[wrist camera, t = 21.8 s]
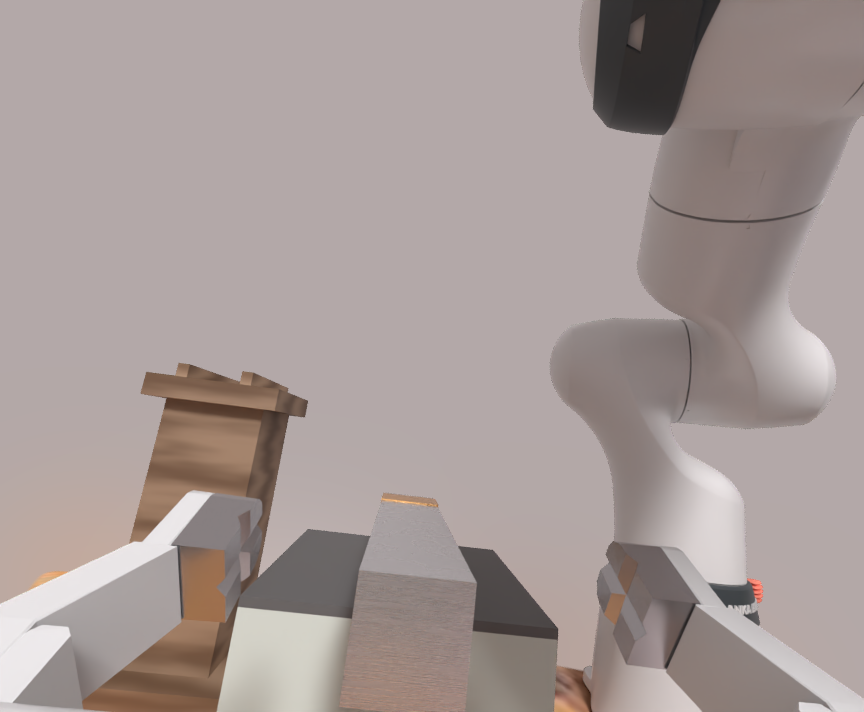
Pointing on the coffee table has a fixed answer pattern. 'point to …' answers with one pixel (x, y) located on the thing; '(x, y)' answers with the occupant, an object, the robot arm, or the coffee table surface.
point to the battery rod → (410, 614)
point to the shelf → (331, 621)
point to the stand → (209, 472)
